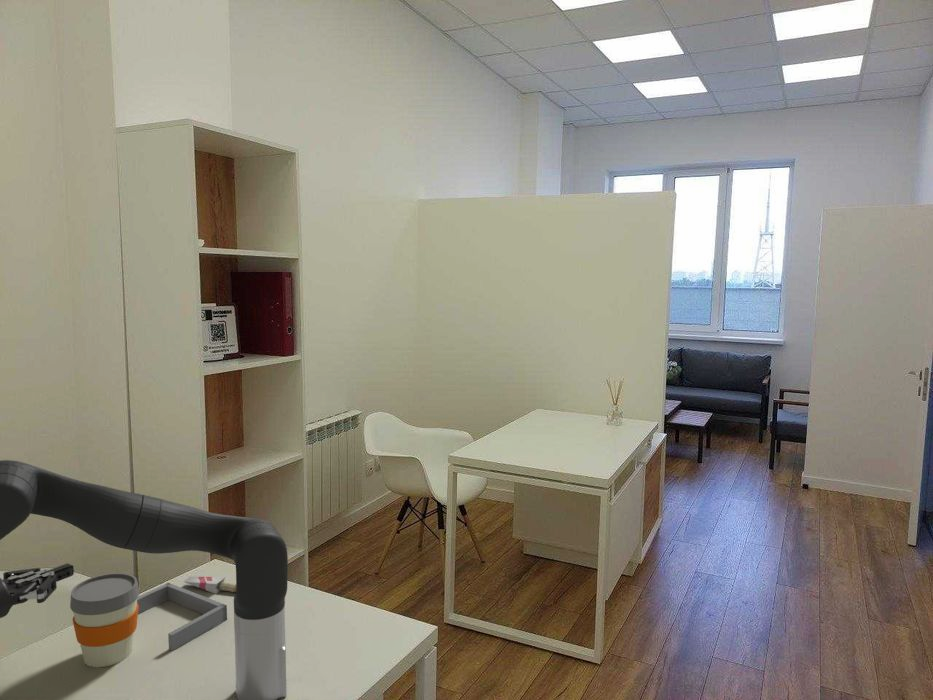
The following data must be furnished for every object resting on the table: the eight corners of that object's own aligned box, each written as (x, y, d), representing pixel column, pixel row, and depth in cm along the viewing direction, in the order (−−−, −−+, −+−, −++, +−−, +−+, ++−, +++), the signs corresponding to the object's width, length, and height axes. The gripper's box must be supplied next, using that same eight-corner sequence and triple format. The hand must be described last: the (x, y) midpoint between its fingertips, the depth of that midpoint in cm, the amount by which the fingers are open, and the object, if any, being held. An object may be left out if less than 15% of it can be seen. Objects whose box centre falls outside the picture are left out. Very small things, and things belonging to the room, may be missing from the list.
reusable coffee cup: (134, 630, 148) (130, 567, 146) (148, 657, 139) (145, 589, 136) (68, 650, 140) (64, 583, 138) (79, 680, 131) (75, 608, 129)
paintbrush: (191, 570, 171) (262, 583, 166) (191, 580, 171) (262, 594, 167) (181, 577, 167) (253, 591, 163) (181, 587, 167) (253, 601, 163)
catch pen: (172, 650, 141) (171, 635, 141) (113, 623, 151) (112, 608, 151) (227, 619, 154) (226, 605, 153) (168, 596, 163) (168, 582, 163)
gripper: (-11, 596, 112) (91, 558, 127) (-50, 576, 118) (51, 542, 133) (-8, 638, 113) (92, 596, 128) (-47, 616, 119) (52, 578, 134)
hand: (71, 568), depth 130 cm, fingers closed
